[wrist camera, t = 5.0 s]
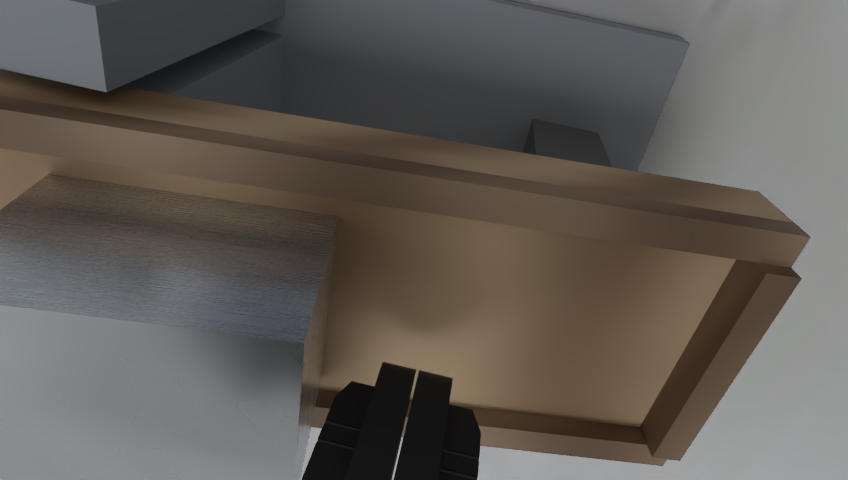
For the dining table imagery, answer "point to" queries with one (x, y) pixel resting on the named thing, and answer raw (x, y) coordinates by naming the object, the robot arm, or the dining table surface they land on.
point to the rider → (158, 334)
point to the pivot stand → (372, 65)
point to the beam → (465, 259)
